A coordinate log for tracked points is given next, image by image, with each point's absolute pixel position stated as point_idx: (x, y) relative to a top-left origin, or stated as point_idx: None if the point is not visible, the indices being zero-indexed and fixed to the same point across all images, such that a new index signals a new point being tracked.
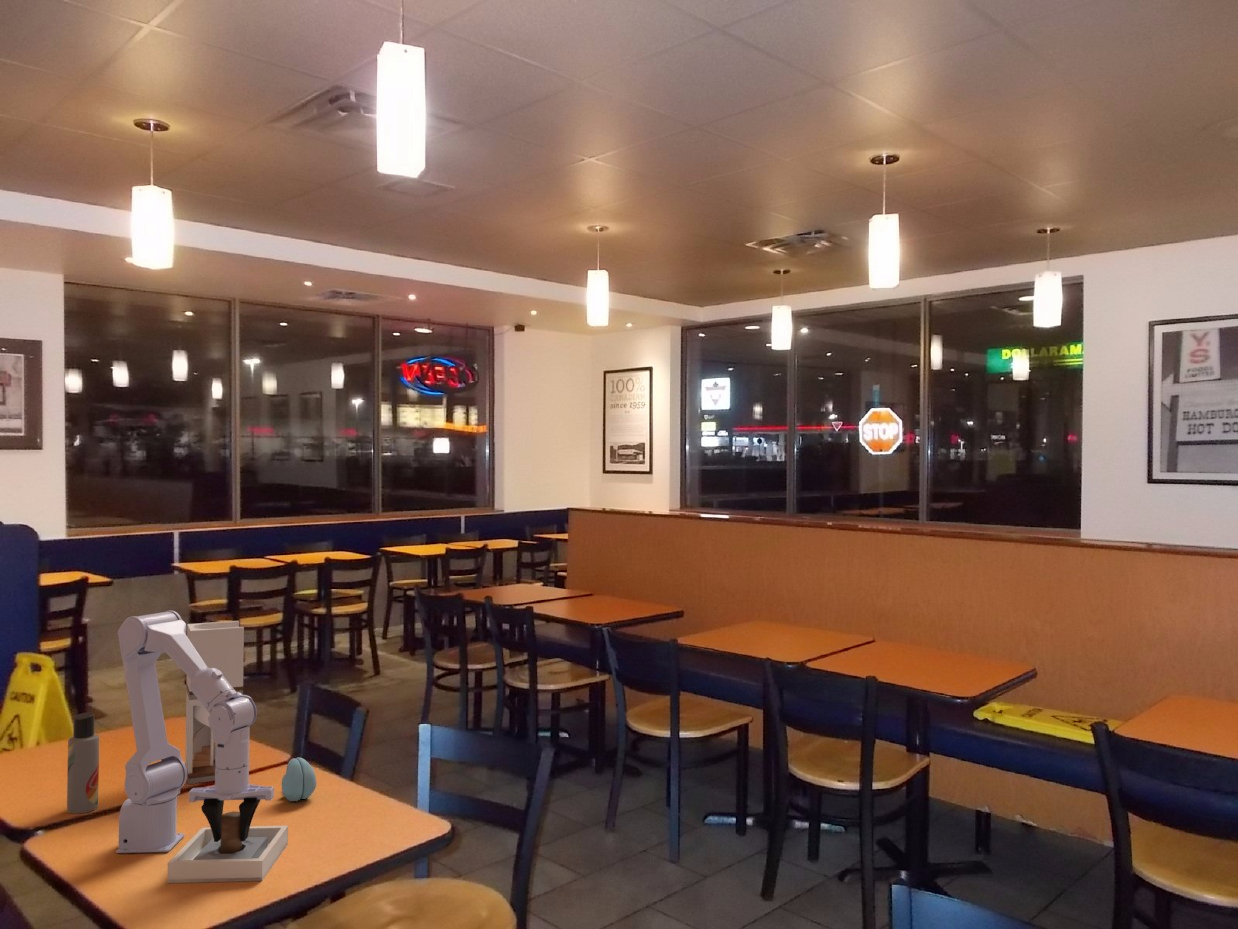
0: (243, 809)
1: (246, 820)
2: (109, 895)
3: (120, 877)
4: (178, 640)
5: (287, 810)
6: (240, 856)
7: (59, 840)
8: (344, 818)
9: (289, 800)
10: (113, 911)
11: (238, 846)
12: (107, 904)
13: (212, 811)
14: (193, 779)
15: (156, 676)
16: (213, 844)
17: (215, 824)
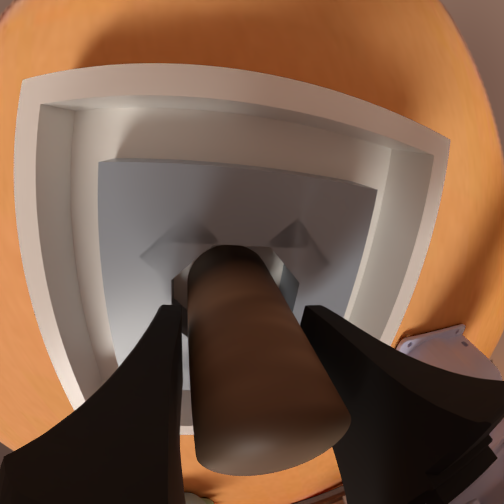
0: (97, 496)
1: (110, 389)
2: (478, 117)
3: (473, 212)
4: None
5: (184, 481)
6: (157, 199)
7: (484, 353)
8: None
9: (193, 494)
10: (451, 27)
11: (194, 294)
12: (470, 70)
13: (461, 407)
14: (339, 491)
15: None
16: None
17: (370, 357)
